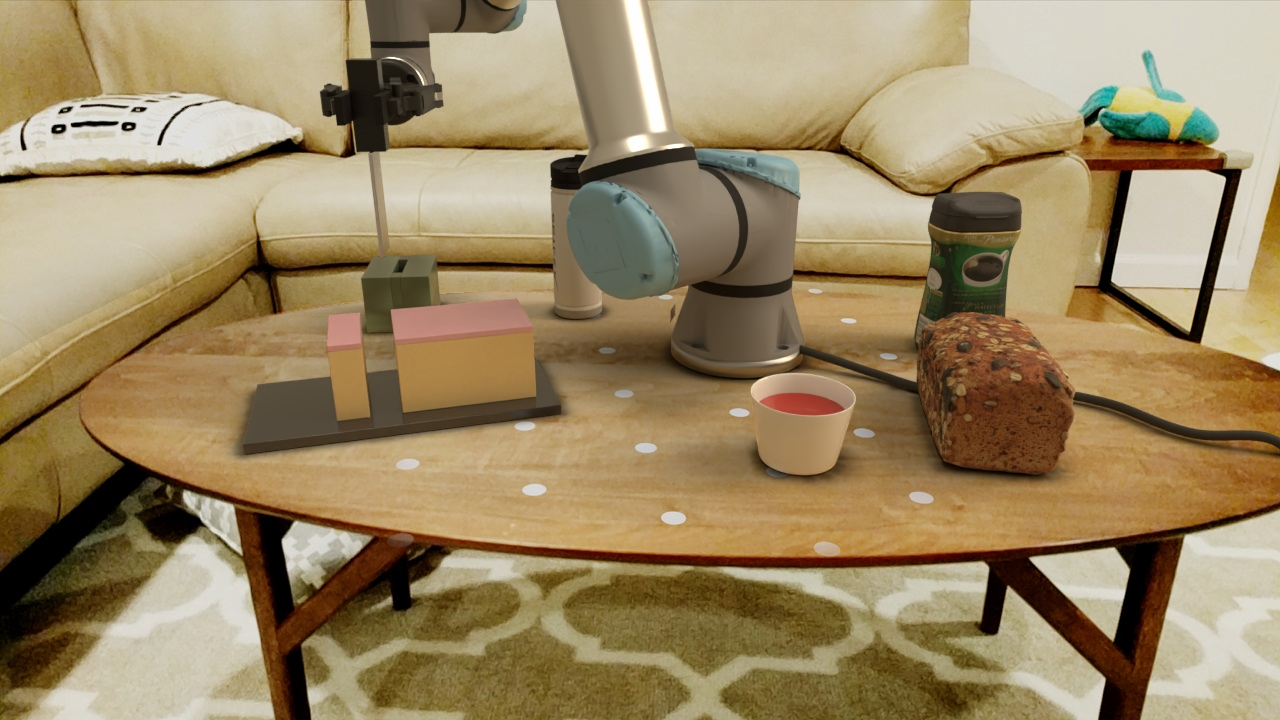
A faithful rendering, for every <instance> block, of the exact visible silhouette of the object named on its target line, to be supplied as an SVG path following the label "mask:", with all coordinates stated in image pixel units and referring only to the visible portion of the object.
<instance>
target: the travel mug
mask: <svg viewBox="0 0 1280 720" xmlns="http://www.w3.org/2000/svg"><path fill="white" fill-rule="evenodd" d="M587 155H588V154H577V153H576V154H574V156H567V157H562V158H561V157H560V158H557V159H555V160H553V161H551V162H550V165H549V171H550V173H549V175H550V190H551V191H550V212H551V214H550V215H551V217H550V218H551V236H552V237H551V239H552V240H551V243H552V271H553V273H552V274H553V299H554V304H553V305H554V313H555V315H557V316H559V317H560V318H564V319H568V320H569V319H571V320H587V319H591V318H594V317H597V316H599V315H600V314H601V313H602V312H603V291H601V290H600V289H599V288H598V287H597V285H596V284H593V283H592V282H591V281H590V280H589V279H588V278H587V277H586V276H585V274H584V273H583V272H582V270H581V269H580V267H579V265H578V264H577V262H576V260H575V258H574V255H573V253H572V250H571V247H570V244H569V240H568V236H567V228H566V218H567V216H568V215H570V214H571V213H570V212H569V210H568V207H569V203H570V201H571V199H572V197H573V196H574V194H575V193H576V192H577V191H578V190H579V189H581V188H582V185H581V181H580V176H579V172H578V170H579V168H580V167H581V165H582V163H583V162H584V160H585V158H586V157H587Z"/></svg>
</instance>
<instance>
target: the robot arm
mask: <svg viewBox="0 0 1280 720" xmlns="http://www.w3.org/2000/svg"><path fill="white" fill-rule="evenodd" d="M364 3H365V11H366V18H367V25H368V32H369V40H370V41H369V44H370V47H369V49H370V58H380V59H381V66H382V75H383V85H384V91H382V92H380V93H378V94H377V95H375V96H373V100H374V109H375V118H376V125H385V124H386V123H388V126H400V125H403V124H406V123H407V122H409V121H410V120H412V119H413V118H414V117H421V116H424V115H425V114H428V113H429V112H431V111H434V109H441V108H443V107H444V95H443V94H444V93H443V84H441V83H439V82H436V76H435V72H434V71H433V68H432V58H431V57H432V56H431V42H430V34H477V33H478V34H491V35H492V34H493V35H495V34H499V33H503V32H512V31H515V30H517V29H519V28H520V27H521V25H522V24H523V23H524V17H525V15H526V14H527V10H528V9H527V8H528V1H527V0H364ZM555 4H556V9H557V12H558V13H557V14H558V17H559V22H560V26H561V30H562V35H563V39H564V44H565V48H566V52H567V57H568V61H569V67H570V70H571V75H572V79H573V84H574V89H575V92H576V97H577V101H578V105H579V110H580V114H581V119H582V124H583V127H584V133H585V137H586V141H587V145H588V151H587V154H586V155H587V157H586V158H585V160H584V162H583V163H582V165H581V167H580V168H579V170H578V172H579V176H580V181H581V185H582V188H581V189H579V190H578V191H577V192H576V193H575V194H574V196H573V197H572V199H571V201H570V203H569V207H568V210H569V212H570V213H571V214H570V215H568V216H567V218H566V228H567V236H568V240H569V244H570V247H571V250H572V253H573V255H574V258H575V260H576V262H577V264H578V265H579V267H580V269H581V270H582V272H583V273H584V274H585V276H586V277H587V278H588V279H589V280H590V281H591V282H592V283H593V284H596V285H597V287H598V288H599V289H600V290H601V291H602V293H604V294H605V295H608V296H610V297H612V298H615V299H618V300H623V301H633V300H639V299H643V298H653V297H661V296H665V295H666V294H669V293H670V291H674V290H677V289H681V288H684V287H687V291H686V294H685V297H684V299H683V303H682V305H681V308H680V310H679V313H678V316H677V318H676V321H675V324H674V327H673V330H672V332H671V336H670V353H671V356H672V358H673V359H674V360H675V361H676V362H677V363H679V364H680V365H683V366H684V367H686V368H687V369H690V370H693V371H696V372H699V373H702V374H705V375H709V376H715V377H722V378H723V377H724V378H735V379H754V378H764V377H767V376H771V375H776V374H784V373H788V372H789V371H791V370H793V369H795V368H796V367H798V366H800V364H801V363H802V362H803V359H804V356H806V357H810V358H813V359H816V360H820V361H823V362H825V363H828V364H832V365H833V366H838V367H841V368H844V369H846V370H849V371H852V372H855V373H858V374H861V375H864V376H866V377H870V378H873V379H876V380H878V381H879V380H880V381H883V382H886V383H888V384H890V385H894V386H897V387H900V388H903V389H906V390H908V391H909V390H910V391H913V392H916V393H919V392H918V383H917V382H916V381H913V380H910V379H907V378H904V377H900V376H897V375H895V374H892V373H889V372H885V371H882V370H880V369H876V368H873V367H870V366H867V365H864V364H860V363H858V362H854V361H852V360H850V359H846V358H844V357H841V356H838V355H834V354H832V353H828V352H825V351H822V350H819V349H815V348H811V347H809V346H806V345H805V338H804V335H803V331H802V328H801V323H800V320H799V316H798V312H797V308H796V303H795V300H794V296H793V279H794V278H793V277H794V266H795V255H796V254H795V253H796V242H797V241H796V240H797V228H798V216H799V203H800V200H801V197H802V196H801V195H802V194H801V192H800V168H799V166H798V165H797V163H796V162H795V161H794V160H793V159H790V158H788V157H784V156H779V155H774V154H767V153H760V152H753V151H752V152H751V151H741V150H734V149H733V150H732V149H720V148H697V149H696V148H695V144H694V143H693V142H692V141H690V140H689V139H688V138H686V137H684V136H683V135H681V134H680V133H678V132H677V130H676V129H675V123H674V120H673V116H672V115H673V114H672V110H671V105H670V99H669V95H668V91H667V87H666V82H665V77H664V72H663V68H662V62H661V58H660V57H661V56H660V54H659V48H658V44H657V43H658V42H657V38H656V34H655V29H654V26H653V25H654V24H653V20H652V16H651V15H652V14H651V11H650V5H649V0H555ZM319 98H320V104H321V112H322V116H323V117H326V118H332V117H334V116H335V120H336V121H335V122H336V126H337V127H345V126H347V125H350V124H351V125H352V124H353V117H352V109H351V101H350V93H349V86H348V87H347V89H343V86H342V84H333V83H332V82H331V83H329V82H327V83H326V84H324V85H323V89H321V90H320V91H319ZM669 314H670V315H669V316H670V320H669V323H672V321H673V319H675V316H676V303H674V304H673V305H672V307H671V309H670V313H669ZM1073 401H1074V402H1080V403H1085V404H1089V405H1094V406H1099V407H1102V408H1106V409H1109V410H1111V411H1112V410H1113V411H1116V412H1119V413H1120V414H1124V415H1126V416H1129V417H1130V418H1134V419H1136V420H1138V421H1141V422H1143V423H1145V424H1147V425H1149V426H1153V427H1154V428H1157V429H1160V430H1162V431H1166V432H1168V433H1171V434H1174V435H1177V436H1181V437H1185V438H1189V439H1193V440H1194V439H1195V440H1199V441H1212V442H1213V441H1214V442H1231V441H1233V442H1234V441H1235V442H1237V441H1239V442H1240V441H1244V442H1245V441H1247V442H1249V441H1250V442H1258V443H1259V442H1260V443H1265V444H1268V445H1271V446H1273V447H1275V448H1277V449H1278V450H1280V436H1278V435H1276V434H1274V433H1270V432H1266V431H1260V430H1249V429H1248V430H1247V429H1232V430H1227V429H1226V430H1213V429H1211V430H1210V429H1200V428H1199V429H1198V428H1193V427H1189V426H1186V425H1182V424H1179V423H1175V422H1173V421H1169V420H1166V419H1164V418H1161V417H1158V416H1156V415H1154V414H1151V413H1149V412H1147V411H1144V410H1142V409H1140V408H1137V407H1134V406H1132V405H1130V404H1127V403H1124V402H1121V401H1118V400H1115V399H1111V398H1107V397H1104V396H1099V395H1096V394H1091V393H1086V392H1081V391H1077V390H1075V395H1074V397H1073Z"/></svg>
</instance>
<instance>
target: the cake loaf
mask: <svg viewBox="0 0 1280 720" xmlns="http://www.w3.org/2000/svg"><path fill="white" fill-rule="evenodd" d="M391 318H392V327H393V332H392V335H393V344H394V354H395V363H396V369H397V372H398V381H399V388H400V396H401V403H402V411H403V413H407V412H415V411H423V410H432V409H440V408H448V407H456V406H465V405H473V404H481V403H489V402H498V401H506V400H514V399H522V398H531V397H536V381H535V359H534V355H535V340H534V339H535V338H534V337H535V336H534V325H533V323H532V322H531V320H530V318H529V317H528V314H527V312H526V311H525V310H524V308H523V307H522V304H521V302H520V300H519V299H518V298H516V297H515V298H508V299H506V298H505V299H496V300H495V299H494V300H482V301H471V302H462V303H450V304H449V303H448V304H440V305H437V306H426V307H415V308H404V309H392V310H391Z"/></svg>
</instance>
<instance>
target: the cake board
mask: <svg viewBox="0 0 1280 720" xmlns="http://www.w3.org/2000/svg"><path fill="white" fill-rule="evenodd" d="M534 359H535V381H536V397H531V398H522V399H514V400H506V401H498V402H489V403H481V404H473V405H465V406H456V407H448V408H440V409H432V410H423V411H415V412H407V413H403V411H402V403H401V396H400V388H399V381H398V372H397V368H396V369H387V370H378V371H370V372H368V371H367V374H368V383H369V402H370V417H367V418H359V419H350V420H342V421H337V416H336V409H335V402H334V395H333V388H332V381H331V375H330V376H321V377H313V378H312V377H311V378H304V379H294V380H285V381H275V382H266V383H257V384H256V389H255V392H254V396H253V401H252V404H251V409H250V413H249V416H248V421H247V426H246V430H245V433H244V437H243V442H242V450H243V454H244V455H250V454H257V453H258V454H259V453H266V452H274V451H281V450H289V449H298V448H304V447H312V446H313V447H314V446H320V445H328V444H335V443H344V442H345V443H346V442H351V441H359V440H368V439H377V438H384V437H390V436H391V437H392V436H398V435H406V434H414V433H415V434H416V433H422V432H431V431H438V430H445V429H452V428H453V429H454V428H461V427H467V426H476V425H484V424H493V423H500V422H501V423H502V422H508V421H516V420H523V419H530V418H539V417H547V416H555V415H562V403H561V402H560V399H558V396H557V394H556V392H555V391H554V389H553V387H552V385H551V383H550V382H549V379H548V378H547V376H546V374H545V372H544V370H543V368H542V366H541V364H540V362H539V361H538V359H537V356H536V355H535V354H534Z"/></svg>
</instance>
